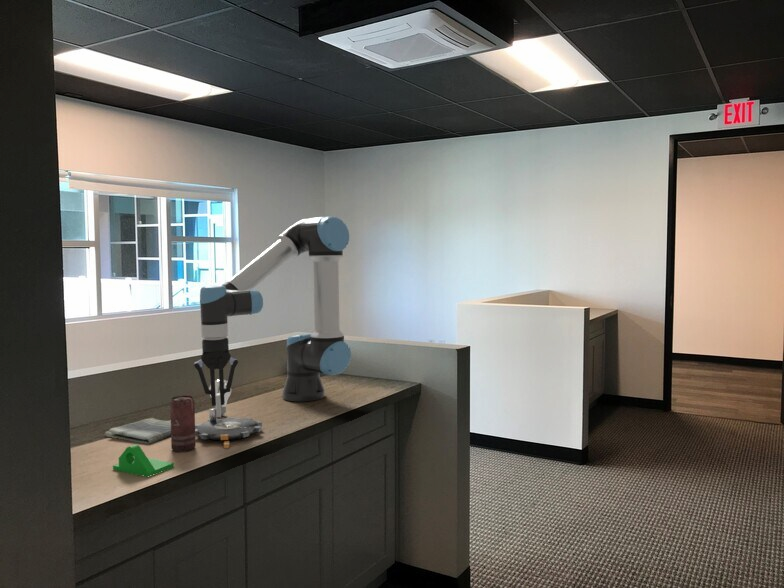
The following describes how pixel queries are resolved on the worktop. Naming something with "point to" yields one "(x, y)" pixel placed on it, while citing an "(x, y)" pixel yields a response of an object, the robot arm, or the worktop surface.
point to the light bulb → (226, 395)
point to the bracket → (140, 462)
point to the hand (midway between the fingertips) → (218, 415)
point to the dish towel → (142, 431)
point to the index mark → (226, 444)
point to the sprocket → (226, 427)
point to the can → (182, 423)
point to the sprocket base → (228, 439)
